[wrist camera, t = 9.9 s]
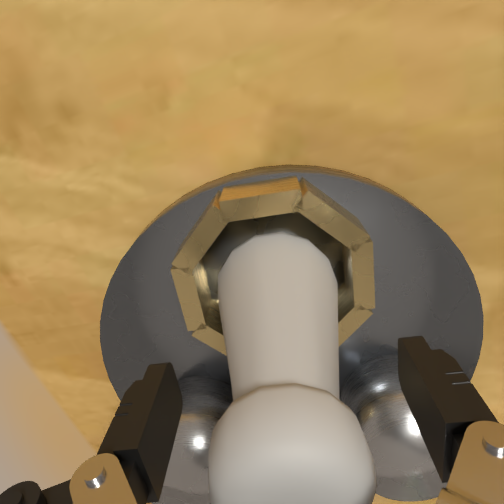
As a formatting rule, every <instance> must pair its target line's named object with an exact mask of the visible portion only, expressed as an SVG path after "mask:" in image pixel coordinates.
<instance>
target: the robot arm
mask: <svg viewBox="0 0 504 504" xmlns="http://www.w3.org/2000/svg"><path fill="white" fill-rule="evenodd" d="M398 377H399V382H400V386H401V390H402V392H403V395H404V397H405V399H406V401H407V404H408V406H409V408H410V411H411V413H412V415H413V417H414V420H415V422H416V424H417V427H418V429H419V431H420V433H421V436H422V438H423V440H424V443H425V445H426V447H427V449H428V452H429V454H430V456H431V459H432V461H433V463H434V465H435V468H436V470H437V472H438V474H439V477H440V479H441V481H442V483H447V482H448V483H447V486H446V488H444V487H443V488H442V489H441V491H440V493H439V496H438V499H437V501H436V504H504V425H503V424H500V423H499V422H498V421H497V420H496V418H495V417H494V415H493V414H492V412H491V411H490V409H489V408H488V406H487V405H486V403H485V402H484V400H483V399H482V397H481V396H480V395H479V393H478V392H477V390H476V389H475V387H474V386H473V384H471V383H470V380H469V378H468V377H467V375H466V374H465V373H464V372H463V370H462V368H461V367H460V365H459V364H458V362H457V361H456V359H455V358H453V357H452V356H451V355H449V354H448V353H446V352H445V351H444V350H442V349H437V350H431V349H430V347H429V345H428V344H427V342H426V340H425V339H424V337H423V336H412V337H402V338H399V339H398ZM182 407H183V400H182V394H181V390H180V387H179V384H178V381H177V377H176V374H175V371H174V368H173V365H172V363H170V362H166V363H157V364H150V365H149V366H148V367H147V370H146V372H145V375H144V377H143V379H142V380H136V381H135V382H134V383H133V384H132V385H131V386H130V387H129V388H128V389H127V390H126V392H125V394H124V396H123V398H122V400H121V402H120V406H119V407H118V409H117V411H116V413H115V417H114V418H113V420H112V422H111V424H110V427H109V429H108V431H107V433H106V435H105V438H104V440H103V442H102V444H101V446H100V449H99V451H98V453H97V455H96V456H93V457H91V458H90V459H88V460H87V461H85V462H84V463H83V464H82V465H81V466H80V467H79V468H78V469H77V470H76V471H75V473H74V474H73V476H72V478H71V479H70V480H68V481H66V482H63V483H61V484H58V485H55V486H53V487H50V488H47V489H45V490H42V491H41V489H40V487H39V486H38V484H37V483H35V482H33V481H25V482H21V483H18V484H16V485H14V486H12V487H10V488H8V489H7V490H6V491H4V492H3V493H2V494H1V495H0V504H146V503H150V502H159V500H160V496H161V492H162V488H163V484H164V480H165V476H166V472H167V468H168V464H169V461H170V457H171V453H172V449H173V445H174V441H175V437H176V433H177V429H178V425H179V421H180V418H181V414H182Z"/></svg>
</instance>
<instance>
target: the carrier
mask: <svg viewBox="0 0 504 504" xmlns="http://www.w3.org/2000/svg"><path fill="white" fill-rule="evenodd" d="M276 232H284V233H288V234H291V235H295V236H298V237H302V238H305V239H308V240H309V241H310V242H311V243H312V244H313V245H314V246H316V247H317V248H318V249H319V250H320V251H321V252H322V253H323V254H324V255H325V256H326V257H327V258H328V259H329V261H330V264H331V267H332V269H333V272H334V275H335V277H336V280H337V284H338V344H339V400H340V401H341V402H343V403H344V404H345V405H347V406H348V407H349V408H350V409H351V410H352V411H353V413H354V414H355V415H356V417H357V419H358V421H359V424H360V426H361V429H362V431H363V433H364V436H365V438H366V441H367V443H368V446H369V449H370V451H371V454H372V457H373V460H374V463H375V473H376V482H377V489H376V492H375V493H376V494H378V495H380V496H382V497H385V498H388V499H392V500H398V501H422V500H428V499H433V498H436V497H438V496H439V493H440V491H441V489H442V488H443V487H444V488H446V486H447V483H448V482H447V483H442V481H441V479H440V477H439V474H438V472H437V470H436V468H435V465H434V463H433V461H432V459H431V456H430V454H429V452H428V449H427V447H426V445H425V443H424V440H423V438H422V436H421V433H420V431H419V429H418V427H417V424H416V422H415V420H414V417H413V415H412V413H411V411H410V408H409V406H408V404H407V401H406V399H405V397H404V395H403V392H402V390H401V386H400V382H399V377H398V339H399V338H402V337H412V336H423V337H424V339H425V340H426V342H427V344H428V345H429V347H430V349H431V350H437V349H442V350H444V351H445V352H446V353H448V354H449V355H451V356H452V357H453V358H455V359H456V361H457V362H458V364H459V365H460V367H461V368H462V370H463V372H464V373H465V374H466V375H467V377H468V378H469V380H471V378H472V376H473V373H474V371H475V368H476V365H477V362H478V359H479V356H480V350H481V345H482V340H483V311H482V304H481V297H480V293H479V290H478V287H477V284H476V281H475V278H474V275H473V273H472V271H471V269H470V267H469V265H468V264H467V262H466V260H465V258H464V256H463V254H462V253H461V251H460V250H459V249H458V248H457V246H456V245H455V244H454V243H453V241H452V240H451V239H450V237H449V236H448V235H447V234H446V233H445V232H444V231H443V230H442V229H441V228H440V227H439V226H438V225H437V224H436V223H434V222H433V221H432V220H431V219H430V218H429V217H428V216H427V215H426V214H424V213H423V212H422V211H421V210H420V209H418V208H417V207H416V206H415V205H414V204H412V203H411V202H409V201H408V200H406V199H405V198H403V197H402V196H400V195H399V194H397V193H396V192H394V191H393V190H391V189H389V188H387V187H385V186H383V185H381V184H379V183H376V182H374V181H372V180H370V179H368V178H365V177H361V176H358V175H355V174H352V173H349V172H346V171H342V170H337V169H331V168H325V167H319V166H307V165H279V166H269V167H259V168H254V169H250V170H245V171H241V172H237V173H232V174H230V175H227V176H224V177H222V178H219V179H216V180H213V181H211V182H208V183H206V184H204V185H202V186H200V187H198V188H197V189H195V190H193V191H191V192H189V193H187V194H185V195H184V196H182V197H181V198H179V199H178V200H177V201H175V202H174V203H173V204H171V205H170V206H169V207H167V208H166V209H164V210H163V211H162V212H161V213H160V214H159V215H158V216H157V217H156V218H155V219H154V220H153V221H152V222H151V223H150V224H149V225H148V226H147V227H146V228H145V229H144V231H143V232H142V233H141V235H140V236H139V237H138V238H137V240H136V241H135V242H134V244H133V245H132V246H131V248H130V249H129V250H128V252H127V253H126V254H125V256H124V257H123V258H122V260H121V261H120V263H119V265H118V267H117V269H116V271H115V273H114V275H113V277H112V278H111V280H110V283H109V286H108V289H107V292H106V295H105V298H104V302H103V308H102V314H101V320H100V343H101V349H102V355H103V361H104V364H105V367H106V370H107V373H108V376H109V379H110V381H111V383H112V385H113V387H114V389H115V391H116V393H117V395H118V397H119V399H120V400H122V398H123V396H124V394H125V392H126V390H127V389H128V388H129V387H130V386H131V385H132V384H133V383H134V382H135V381H136V380H142V379H143V377H144V375H145V372H146V370H147V367H148V366H149V365H150V364H157V363H166V362H170V363H172V365H173V368H174V371H175V374H176V377H177V381H178V384H179V387H180V390H181V394H182V400H183V407H182V414H181V418H180V421H179V425H178V429H177V433H176V437H175V441H174V445H173V449H172V453H171V457H170V461H169V464H168V468H167V472H166V476H165V480H164V484H163V488H162V492H161V496H160V500H159V502H151V503H152V504H211V503H210V502H209V480H208V452H209V447H210V442H211V437H212V432H213V429H214V427H215V426H216V424H217V422H218V421H219V419H220V418H221V417H222V415H223V414H224V413H225V411H226V410H227V409H228V407H229V406H230V405H231V403H232V402H233V395H232V386H231V379H230V373H229V366H228V360H227V354H226V348H225V341H224V335H223V329H222V323H221V316H220V310H219V304H218V274H219V272H220V270H221V269H222V267H223V265H224V264H225V262H226V260H227V259H228V257H229V255H230V254H231V252H232V250H233V249H234V248H236V247H238V246H239V245H241V244H242V243H244V242H245V241H247V240H248V239H250V238H252V237H253V236H255V235H259V234H269V233H276Z"/></svg>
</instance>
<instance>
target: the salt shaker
mask: <svg viewBox="0 0 504 504" xmlns="http://www.w3.org/2000/svg"><path fill="white" fill-rule="evenodd" d="M218 304H219V310H220V316H221V323H222V329H223V335H224V341H225V348H226V354H227V360H228V366H229V373H230V379H231V386H232V395H233V402H232V403H231V405H230V406H229V407H228V409H227V410H226V411H225V413H224V414H223V415H222V417H221V418H220V419H219V421H218V422H217V424H216V426H215V427H214V429H213V432H212V437H211V442H210V447H209V452H208V480H209V502H210V503H211V504H372V502H373V499H374V495H375V492H376V489H377V482H376V473H375V463H374V460H373V457H372V454H371V451H370V449H369V446H368V443H367V441H366V438H365V436H364V433H363V431H362V429H361V426H360V424H359V421H358V419H357V417H356V415H355V414H354V413H353V411H352V410H351V409H350V408H349V407H348V406H347V405H345V404H344V403H343V402H341V401H340V400H339V344H338V284H337V280H336V277H335V275H334V272H333V269H332V267H331V264H330V261H329V259H328V258H327V257H326V256H325V255H324V254H323V253H322V252H321V251H320V250H319V249H318V248H317V247H316V246H314V245H313V244H312V243H311V242H310V241H309V240H308V239H305V238H302V237H298V236H295V235H291V234H288V233H284V232H276V233H269V234H259V235H255V236H253V237H252V238H250V239H248V240H247V241H245V242H244V243H242V244H241V245H239V246H238V247H236V248H234V249H233V250H232V252H231V254H230V255H229V257H228V259H227V260H226V262H225V264H224V265H223V267H222V269H221V270H220V272H219V274H218Z"/></svg>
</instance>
